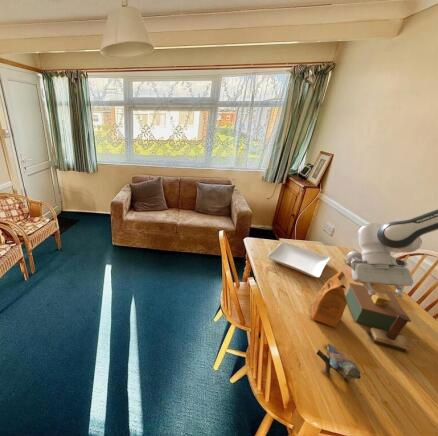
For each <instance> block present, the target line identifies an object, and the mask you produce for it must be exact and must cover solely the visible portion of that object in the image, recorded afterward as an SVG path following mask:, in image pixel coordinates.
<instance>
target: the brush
mask: <svg viewBox="0 0 438 436" xmlns="http://www.w3.org/2000/svg"><path fill="white" fill-rule="evenodd" d="M408 317H409V316H408ZM408 317H407V316H405V315H403V314H399V315H398V316H397V318H396V319H395V321H394V322H393V324H392V325H391V327H390V329H389V330H388V331H387V330H384V329H380V328H376V327H371V328H370V330H369V331H370V332H369V335H370V337H371V339H372V342H373V343H375V344H378V345H382V346H385V347H389V348H392V349H394V350H399V351H402V352H405V353H406V352H407V351H410V350H411V348H412V346H411V345H410V343H409V341H408V340H407V338H406V336H405V335H401V333H402V331H403V330H404V328H405V326H406V325H407V324H408V323H409V322H408V321H409V318H410V317H409V318H408Z"/></svg>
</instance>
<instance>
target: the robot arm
mask: <svg viewBox="0 0 438 436" xmlns="http://www.w3.org/2000/svg"><path fill="white" fill-rule="evenodd" d="M436 231H438V208H437V209H435V210H431V211H428V212H426V213H423V214H420V215H418V216H416V217H413V218H410V219H409V218H408V219H405V220H397V221H396V220H395V221H390V222H387V223H385V224H380V223H378V222H377V223H374V222H373V223H368V224H364V225H362V226H361V227H360V228H359V229H358V230H357V239H358V245H359V248H360V249H361V254H362V259H363V261H362V260H361V261H359V260H354V261H352V262H351V265H350V267H351V279H352V281H353V282H354V283H359V284H360V283H362V286H364V287H365V288H366V289H367V290H368V294H369V295H376V293H375V290H373V289H372V288H373V287H371V286H372V284H373V285H374V284H375V285H385V286H393V287H394V288H395V291H394V292H393V295H394V297H395V298H403V291H404V288H405V287H411V286H413V285H414V278H413V276H412V273H411V271H410V269H409V268H408V262H407V260H402V259H400V258H397V257H394V256H392V255H391V253H392V252H393V253H403V254H404V253H405V254H406V253H407V254H408V253H413V252H416V251H417V250H419V249H420V248H421V246H422V245H423V241H422V238H421V236H423V235H426V234H429V233H432V232H436Z"/></svg>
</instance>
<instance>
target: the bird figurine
mask: <svg viewBox="0 0 438 436" xmlns="http://www.w3.org/2000/svg"><path fill="white" fill-rule="evenodd" d="M326 348H327V352H326V354H324V353H323V351H322V350H320V349H317V350H316V352H315V353H316V355H317V356H318V357H319V358H320V359H321V360H322V361H323V363H325V369H324V374H325V375H328V376H330V377H331V376H332V374H331V369H332V370H334V371H335V372H337V374H338V375H340V376H341V378H344V379H346V380H355V379H357V380H360V379H361V378H362V377H361V371H360V370H359V368H358V366H357V365H356V364H355V363H354V361H353V360H352V359H350V357H348V356H346V355H344V354H342V353H340V351H338V349H337V347H335V346H333V345H332V344H331V343H327V347H326Z"/></svg>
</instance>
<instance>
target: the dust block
mask: <svg viewBox="0 0 438 436" xmlns="http://www.w3.org/2000/svg"><path fill="white" fill-rule="evenodd" d="M375 293H376V295H372V297H371V298H372V300H373V302H374V303H375V304H377V305H381V306H385V307H387V306H388V304H389V302H390V299H389V298H388V296H387V295H386V294H382V293H378V292H375Z"/></svg>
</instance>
